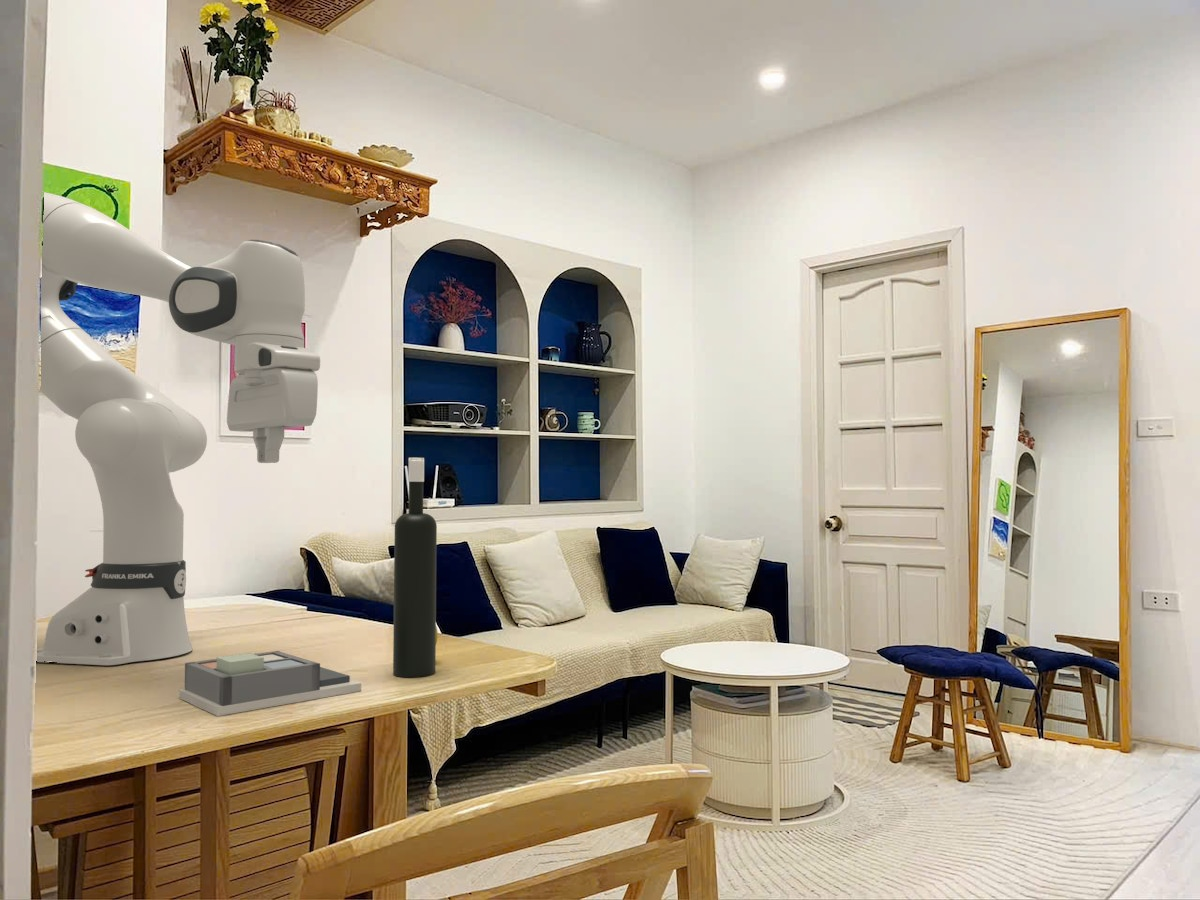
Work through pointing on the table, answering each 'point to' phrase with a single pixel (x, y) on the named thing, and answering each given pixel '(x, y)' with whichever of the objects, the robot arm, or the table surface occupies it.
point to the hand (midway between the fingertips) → (268, 462)
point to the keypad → (261, 685)
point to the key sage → (240, 664)
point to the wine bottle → (415, 584)
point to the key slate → (281, 664)
